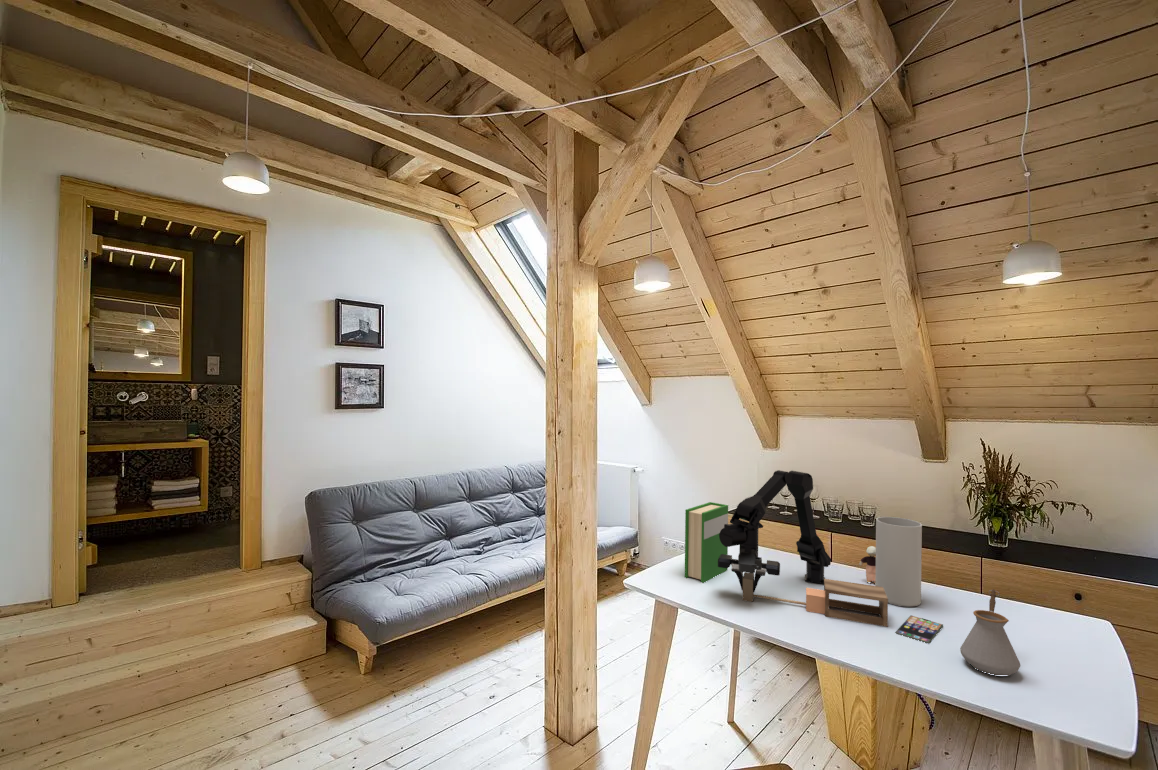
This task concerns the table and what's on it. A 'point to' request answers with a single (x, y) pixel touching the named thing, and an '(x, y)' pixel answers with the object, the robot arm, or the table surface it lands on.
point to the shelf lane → (858, 592)
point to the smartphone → (919, 629)
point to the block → (813, 599)
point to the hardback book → (704, 540)
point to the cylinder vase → (899, 560)
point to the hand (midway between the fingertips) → (748, 591)
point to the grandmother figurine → (870, 564)
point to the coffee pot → (990, 643)
